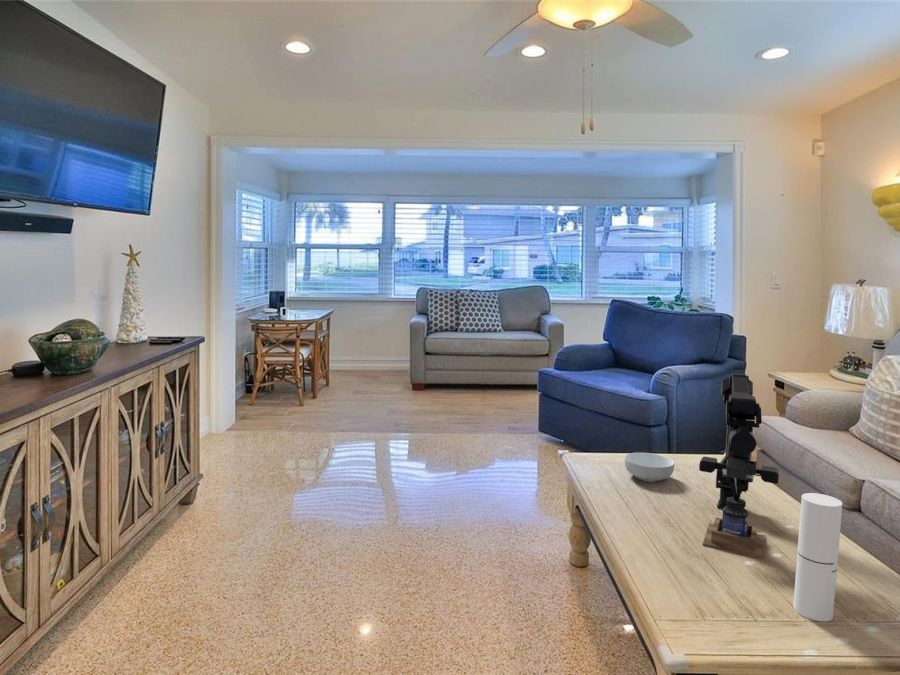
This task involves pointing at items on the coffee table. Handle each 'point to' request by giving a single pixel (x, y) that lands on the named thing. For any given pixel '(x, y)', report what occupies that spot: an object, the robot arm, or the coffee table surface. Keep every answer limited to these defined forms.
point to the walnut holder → (735, 540)
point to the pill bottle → (735, 517)
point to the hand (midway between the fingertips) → (736, 500)
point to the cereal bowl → (649, 466)
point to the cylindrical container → (817, 556)
